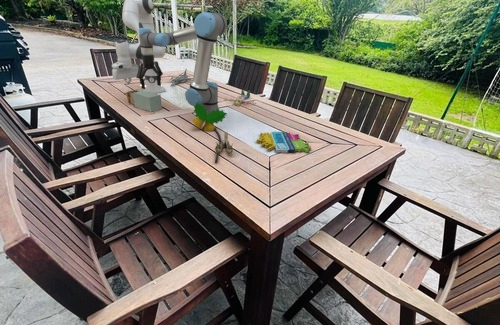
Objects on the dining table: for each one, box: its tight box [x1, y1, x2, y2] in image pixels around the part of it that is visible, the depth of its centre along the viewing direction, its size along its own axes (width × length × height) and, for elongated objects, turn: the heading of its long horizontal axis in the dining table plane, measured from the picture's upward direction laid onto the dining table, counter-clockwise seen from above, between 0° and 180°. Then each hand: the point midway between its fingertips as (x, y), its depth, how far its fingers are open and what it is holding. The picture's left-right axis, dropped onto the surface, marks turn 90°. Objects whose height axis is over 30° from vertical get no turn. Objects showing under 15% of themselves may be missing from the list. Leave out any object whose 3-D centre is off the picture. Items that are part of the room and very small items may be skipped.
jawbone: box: [214, 131, 234, 156], centre depth 136 cm, size 9×15×10 cm
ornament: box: [191, 102, 228, 132], centre depth 162 cm, size 21×8×15 cm, turn 105°
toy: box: [223, 89, 257, 106], centre depth 219 cm, size 28×7×30 cm
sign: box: [256, 131, 312, 154], centre depth 152 cm, size 26×2×30 cm
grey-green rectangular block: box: [133, 90, 163, 113], centre depth 190 cm, size 17×10×10 cm, turn 58°
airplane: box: [168, 68, 193, 87], centre depth 266 cm, size 38×31×10 cm
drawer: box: [123, 89, 140, 105], centre depth 195 cm, size 22×9×8 cm, turn 58°
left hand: (128, 84), depth 194 cm, fingers closed
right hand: (151, 87), depth 182 cm, fingers open, 13 cm apart
